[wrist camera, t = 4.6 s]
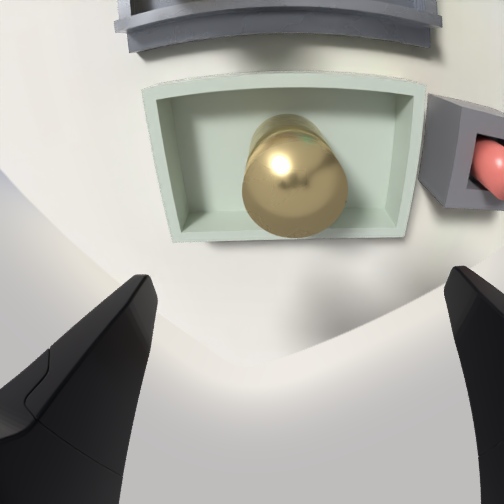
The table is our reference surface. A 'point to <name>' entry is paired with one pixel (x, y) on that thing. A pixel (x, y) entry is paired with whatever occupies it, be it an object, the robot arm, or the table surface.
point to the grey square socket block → (457, 152)
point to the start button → (489, 165)
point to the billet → (292, 178)
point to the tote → (262, 108)
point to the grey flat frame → (274, 20)
